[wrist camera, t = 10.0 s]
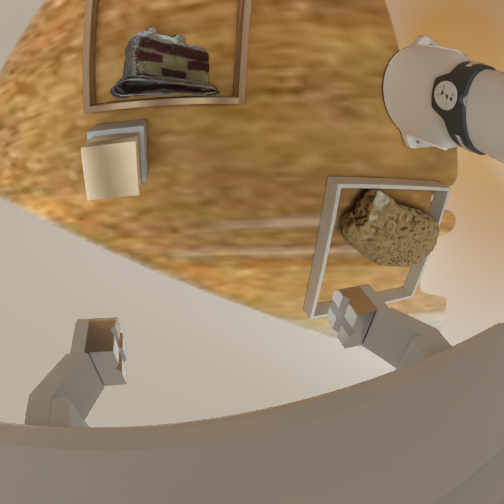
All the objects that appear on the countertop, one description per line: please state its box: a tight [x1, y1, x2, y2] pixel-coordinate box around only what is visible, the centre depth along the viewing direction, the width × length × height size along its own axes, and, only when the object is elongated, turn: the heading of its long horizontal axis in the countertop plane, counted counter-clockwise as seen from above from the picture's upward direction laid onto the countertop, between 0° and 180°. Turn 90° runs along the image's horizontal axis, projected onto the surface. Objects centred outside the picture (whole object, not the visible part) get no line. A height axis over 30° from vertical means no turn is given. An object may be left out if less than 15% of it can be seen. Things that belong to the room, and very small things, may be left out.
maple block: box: [81, 131, 142, 201], centre depth 27 cm, size 5×5×5 cm
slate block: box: [87, 119, 148, 182], centre depth 31 cm, size 6×6×5 cm
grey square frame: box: [303, 176, 450, 319], centre depth 51 cm, size 24×24×3 cm
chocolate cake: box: [110, 28, 220, 98], centre depth 28 cm, size 10×7×12 cm
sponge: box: [341, 188, 439, 267], centre depth 48 cm, size 13×8×20 cm
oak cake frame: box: [83, 0, 251, 114], centre depth 26 cm, size 17×17×3 cm
